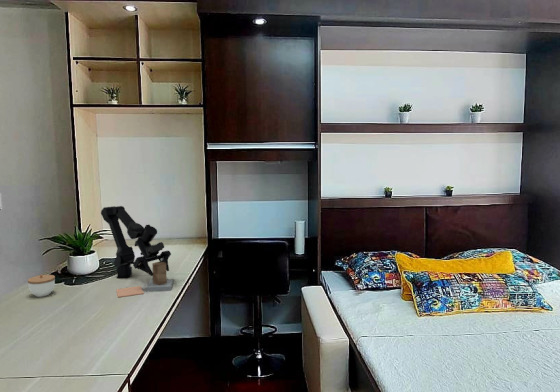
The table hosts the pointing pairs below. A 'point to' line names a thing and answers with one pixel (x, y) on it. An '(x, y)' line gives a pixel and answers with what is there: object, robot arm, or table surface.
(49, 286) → the lidded jar
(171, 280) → the grey ledge
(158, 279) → the walnut block
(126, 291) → the terracotta mat
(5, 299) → the table surface
